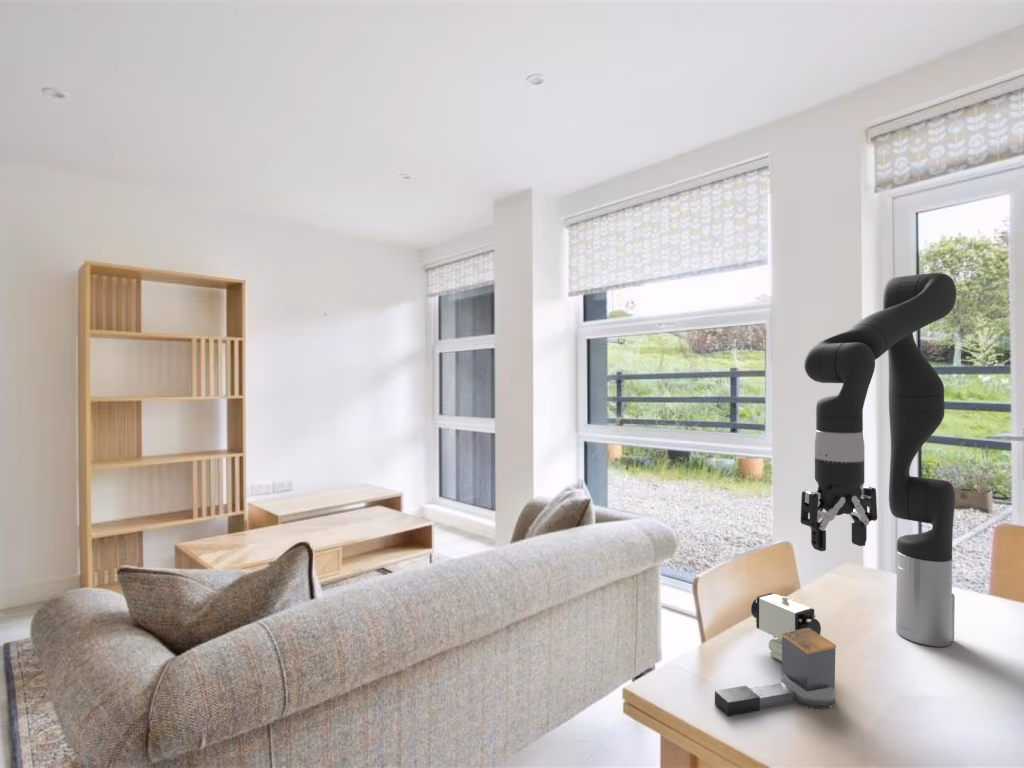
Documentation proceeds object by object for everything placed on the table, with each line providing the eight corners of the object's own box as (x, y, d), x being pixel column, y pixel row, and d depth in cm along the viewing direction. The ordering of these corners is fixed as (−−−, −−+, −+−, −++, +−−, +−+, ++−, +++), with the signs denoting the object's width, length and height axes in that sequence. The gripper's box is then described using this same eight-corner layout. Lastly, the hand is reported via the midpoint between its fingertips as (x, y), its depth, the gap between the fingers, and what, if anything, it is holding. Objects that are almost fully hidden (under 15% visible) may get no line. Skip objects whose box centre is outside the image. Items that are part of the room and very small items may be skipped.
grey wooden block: (835, 685, 90) (835, 644, 90) (807, 691, 89) (807, 651, 88) (808, 665, 96) (808, 627, 95) (781, 671, 94) (781, 633, 94)
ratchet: (808, 678, 97) (808, 645, 97) (846, 704, 90) (846, 668, 90) (706, 696, 92) (706, 660, 92) (737, 725, 84) (738, 686, 84)
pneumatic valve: (804, 677, 98) (805, 611, 98) (750, 648, 108) (750, 588, 108) (824, 669, 100) (824, 605, 100) (768, 642, 111) (769, 583, 111)
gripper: (823, 462, 90) (823, 559, 91) (890, 457, 94) (890, 549, 94) (789, 455, 97) (789, 545, 98) (853, 450, 101) (853, 536, 102)
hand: (839, 547), depth 96 cm, fingers open, 8 cm apart
